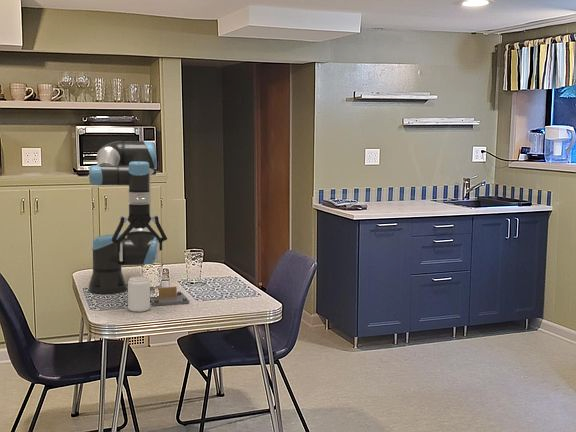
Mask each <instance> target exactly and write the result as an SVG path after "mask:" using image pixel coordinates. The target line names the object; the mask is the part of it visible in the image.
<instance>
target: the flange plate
mask: <svg viewBox="0 0 576 432" xmlns="http://www.w3.org/2000/svg"><path fill="white" fill-rule="evenodd" d="M157 288H158V290H159V296H157V297H150V301H151V302H150V304H152V306H153V307H159V306H160V307H161V306H172V305H173V306H175V305H176V306H177V305H188V304H190V300H189V299H188V298H187V296H186V295H185V294H184V293H183V292H182V291H179V290H178V287H177V286H166V287H165V286H162V287H161V286H160V287H157Z"/></svg>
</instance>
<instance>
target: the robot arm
mask: <svg viewBox="0 0 576 432" xmlns="http://www.w3.org/2000/svg"><path fill="white" fill-rule="evenodd" d="M96 162H97V164H96V165H90V166H89V169H88V176H89V177H88V179H89V181H88V182H89V184H90V185H92V186H99V187H100V186H128V203H129V204H128V216H120V217H119V223H118V225H117V227H116V229H115V231H114V233H110V234H103V235H99V236H96V237H95V238H93V240H92V248H91V250H92V275H91V278H90V281H89V283H88V291H89V293H92V294H99V295H101V294H102V295H109V294H110V295H111V294H119V293H123V292H125V291H126V290H127V283H126V281H125V278H124V275H123V271H122V266H146V265H145V264H150V265H154V264H155V262H156V260H160V251H162V250H163V242H164V241H167V240H168V238H167V236H166V233H165V230H164V229H163V227H162V225H161V224H160V221H159V216H158V215H154V216H151V215H152V214H151V211H152V208H151V206H152V204H151V201H152V199H151V198H152V197H151V193H152V192H151V191H152V190H151V175H153V174H154V172H155V169H158V161H157V152H156V146H155V144H154V143H153V141H152V142H151V141H144V140H142V141H141V140H140V141H139V140H138V141H136V140H135V141H134V140H132V141H131V140H129V141H127V140H116V141H112V142H109V143H106V144H104V145H103V146H101V147H100V149H99V150H98V151H97V154H96ZM127 221H128V223H129V224H128V225H127V227H126V229H125V230H124V231H123V232H122V233H121V231H122V228H123V227H124V224H126V223H127ZM152 222H153V223H154V224H155V225H156V229H157V230H158V231H159V234H160V235H159V234H158V233H157V232H156V231H155V230H154V229H153V228H152V224H151V223H152ZM160 236H161V237H160Z"/></svg>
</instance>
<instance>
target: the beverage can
mask: <svg viewBox="0 0 576 432" xmlns="http://www.w3.org/2000/svg"><path fill="white" fill-rule="evenodd" d="M150 293H151V281H150V279H149V277H147V276H131V277H129V279H128V282H127V309H128V310H129V311H131V312H133V313H134V312H136V313H141V312H143V313H144V312H147V311H148V310H149V309H151V302H150Z"/></svg>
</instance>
